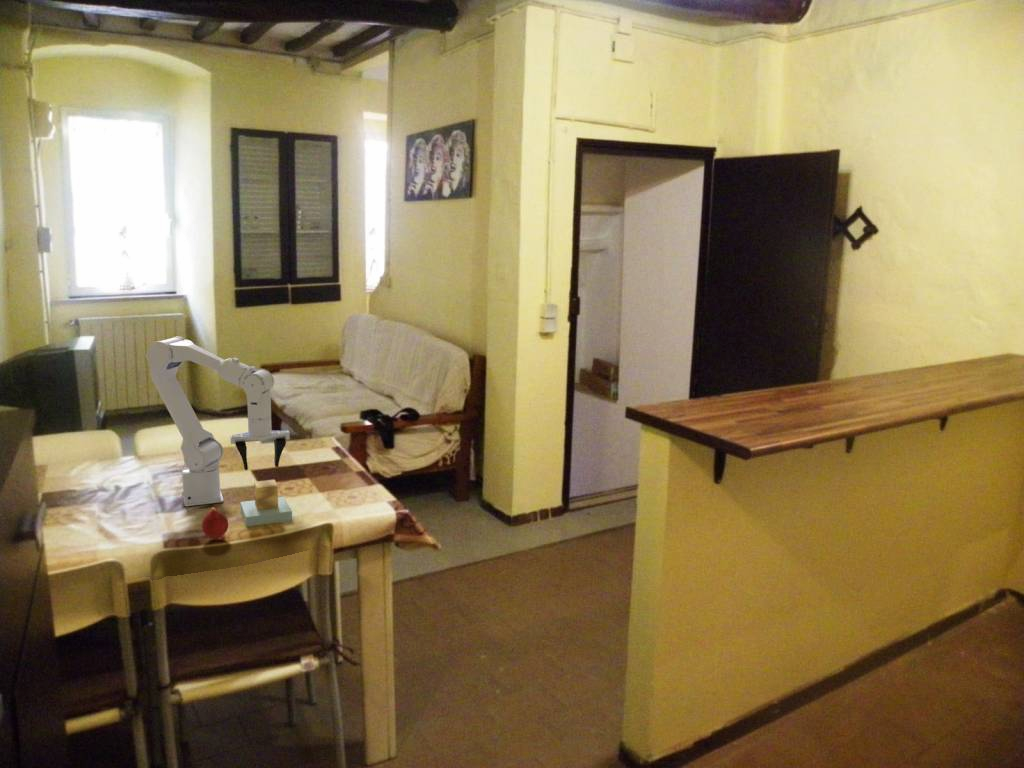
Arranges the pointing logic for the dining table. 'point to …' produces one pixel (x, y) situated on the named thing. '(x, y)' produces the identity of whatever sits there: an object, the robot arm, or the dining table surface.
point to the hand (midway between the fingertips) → (261, 467)
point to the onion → (214, 524)
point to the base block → (265, 513)
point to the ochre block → (266, 495)
